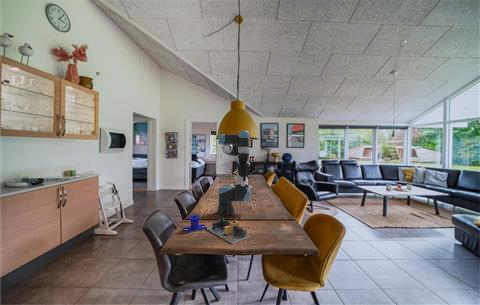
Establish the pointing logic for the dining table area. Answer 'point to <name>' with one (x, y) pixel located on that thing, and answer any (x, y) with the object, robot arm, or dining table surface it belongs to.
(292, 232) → the dining table surface
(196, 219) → the mount
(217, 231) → the plate
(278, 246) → the dining table surface
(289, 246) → the dining table surface
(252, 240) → the dining table surface
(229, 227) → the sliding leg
